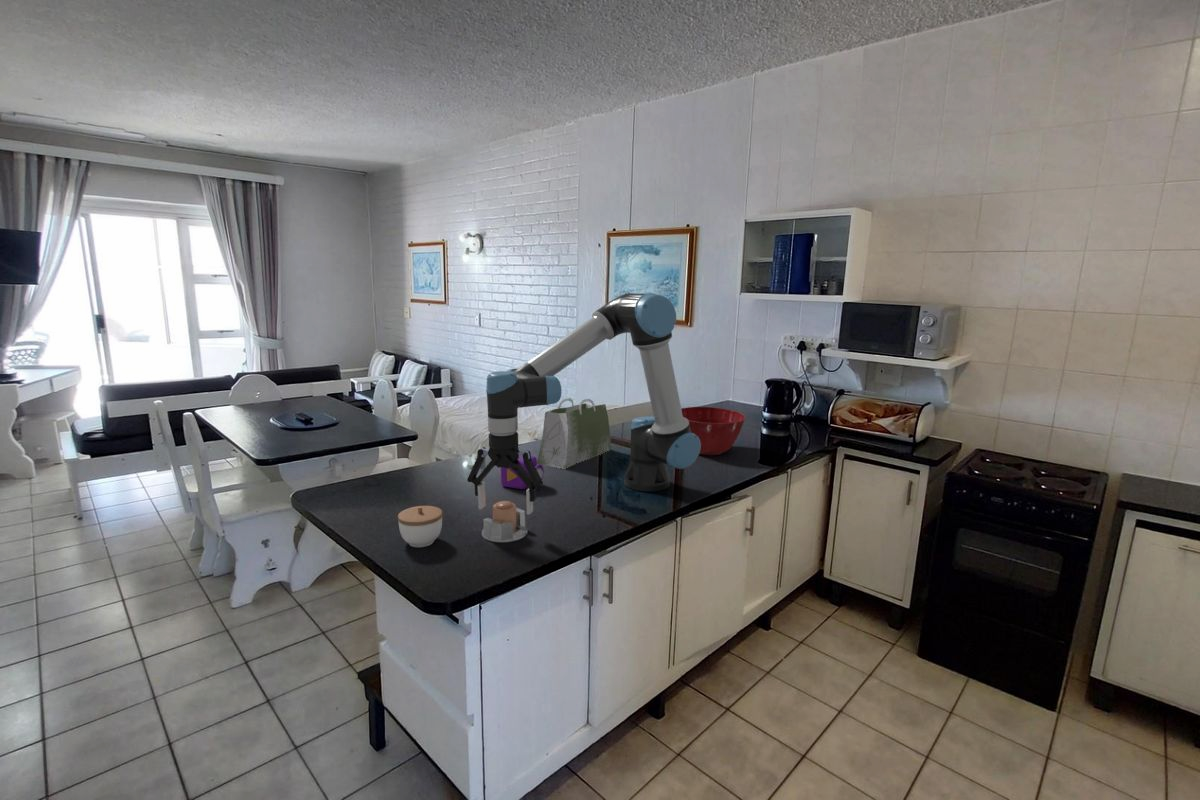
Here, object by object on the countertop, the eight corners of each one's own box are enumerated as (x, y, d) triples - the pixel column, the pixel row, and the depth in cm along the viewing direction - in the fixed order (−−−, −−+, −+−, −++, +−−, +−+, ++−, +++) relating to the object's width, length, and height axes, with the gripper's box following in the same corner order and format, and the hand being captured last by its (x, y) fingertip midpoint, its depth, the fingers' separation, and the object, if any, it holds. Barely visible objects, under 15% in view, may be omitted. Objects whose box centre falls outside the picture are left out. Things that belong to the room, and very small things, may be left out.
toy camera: (538, 492, 180) (538, 462, 178) (498, 489, 182) (497, 459, 180) (548, 481, 190) (548, 453, 188) (509, 478, 193) (509, 450, 191)
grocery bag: (584, 444, 236) (584, 390, 232) (612, 450, 229) (613, 394, 224) (535, 463, 210) (535, 402, 205) (565, 470, 202) (565, 407, 198)
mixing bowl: (750, 461, 217) (753, 422, 214) (676, 460, 217) (678, 421, 214) (734, 442, 244) (736, 407, 241) (668, 440, 245) (670, 406, 242)
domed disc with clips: (534, 526, 154) (533, 509, 153) (517, 545, 143) (517, 526, 142) (493, 521, 157) (493, 504, 156) (473, 539, 146) (473, 521, 145)
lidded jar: (405, 533, 148) (403, 499, 147) (446, 532, 149) (445, 499, 147) (394, 552, 138) (392, 515, 136) (438, 551, 139) (437, 515, 137)
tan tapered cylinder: (519, 528, 152) (519, 501, 150) (510, 537, 146) (510, 509, 145) (498, 525, 153) (498, 498, 152) (489, 534, 147) (488, 507, 146)
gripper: (554, 431, 145) (555, 509, 149) (465, 425, 151) (469, 500, 155) (544, 439, 138) (545, 520, 142) (451, 432, 144) (455, 510, 148)
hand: (505, 510), depth 149 cm, fingers open, 13 cm apart
